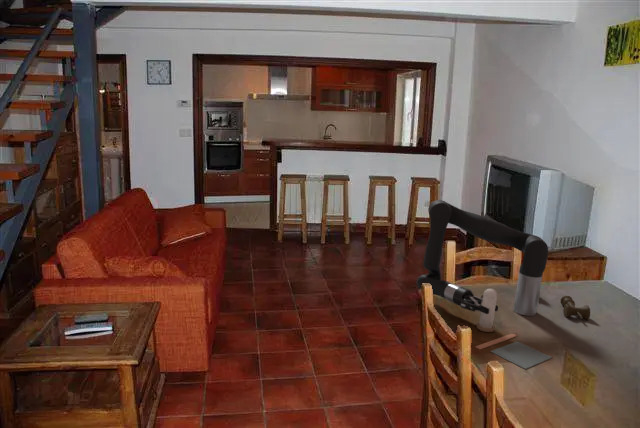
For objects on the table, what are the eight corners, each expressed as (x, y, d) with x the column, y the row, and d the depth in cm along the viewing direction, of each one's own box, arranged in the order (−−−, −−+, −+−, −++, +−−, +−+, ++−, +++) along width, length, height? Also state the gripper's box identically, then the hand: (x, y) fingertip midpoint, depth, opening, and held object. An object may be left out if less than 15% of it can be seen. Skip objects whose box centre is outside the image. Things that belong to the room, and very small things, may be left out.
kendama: (576, 307, 236) (593, 325, 216) (553, 305, 237) (568, 323, 217) (578, 295, 235) (595, 311, 215) (555, 293, 236) (570, 309, 216)
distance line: (511, 334, 202) (512, 333, 202) (516, 336, 201) (516, 335, 201) (475, 347, 190) (475, 346, 189) (480, 349, 188) (480, 348, 188)
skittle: (483, 323, 209) (489, 284, 206) (497, 330, 204) (503, 290, 201) (473, 327, 206) (479, 287, 202) (487, 333, 201) (492, 293, 197)
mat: (517, 341, 196) (517, 341, 196) (551, 358, 185) (551, 357, 185) (490, 351, 187) (490, 351, 187) (525, 369, 176) (525, 368, 176)
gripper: (447, 289, 210) (482, 304, 196) (470, 283, 218) (505, 297, 205) (445, 306, 211) (479, 323, 198) (468, 300, 220) (503, 315, 206)
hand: (492, 310), depth 201 cm, fingers closed on skittle, 5 cm apart
